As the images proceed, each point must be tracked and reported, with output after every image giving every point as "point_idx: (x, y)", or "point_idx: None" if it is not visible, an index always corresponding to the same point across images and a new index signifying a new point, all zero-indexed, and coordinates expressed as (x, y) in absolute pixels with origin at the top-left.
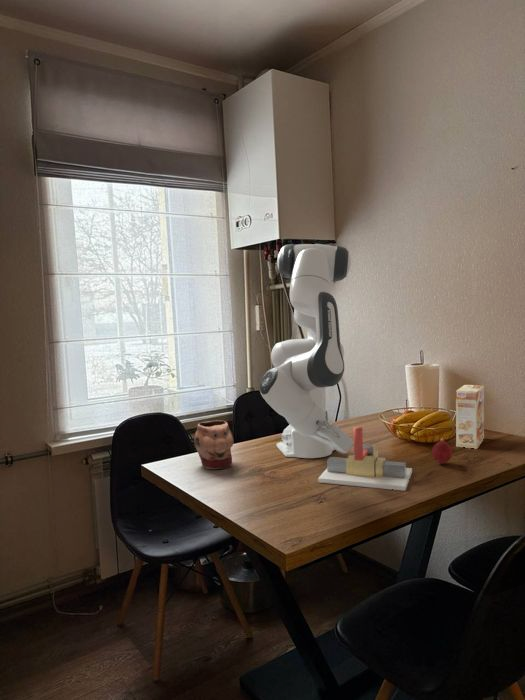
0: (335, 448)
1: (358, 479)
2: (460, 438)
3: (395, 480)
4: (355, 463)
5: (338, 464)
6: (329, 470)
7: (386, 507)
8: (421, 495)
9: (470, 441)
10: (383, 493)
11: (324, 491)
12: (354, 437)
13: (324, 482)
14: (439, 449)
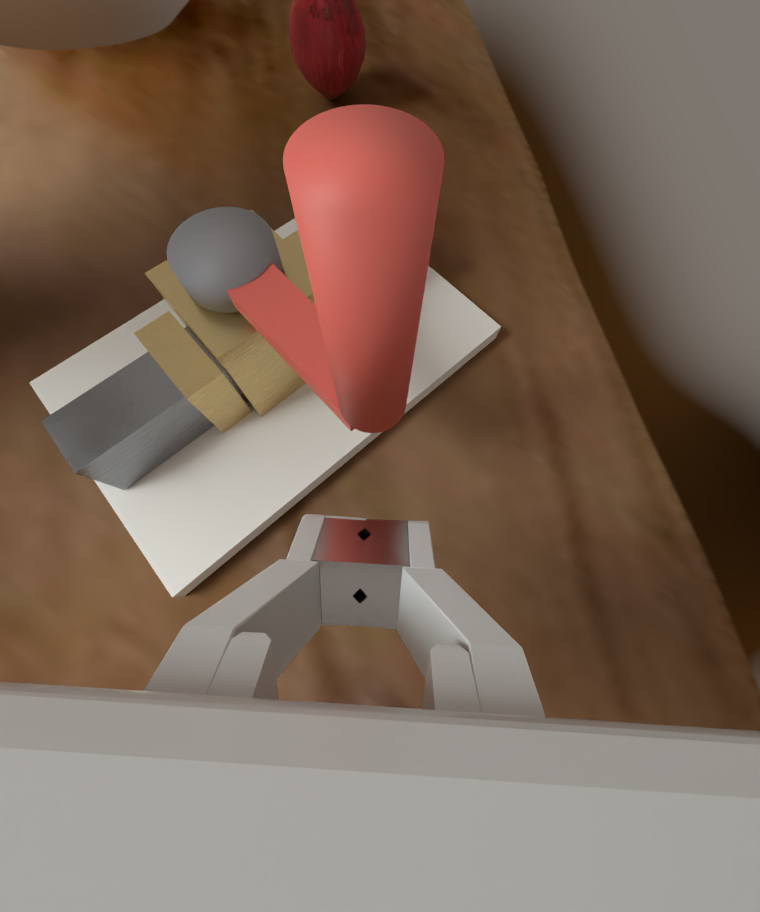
0: (336, 623)
1: (321, 429)
2: None
3: (422, 314)
4: (250, 378)
5: (155, 435)
6: (132, 481)
7: (627, 511)
8: (562, 323)
9: None
10: (480, 422)
11: (314, 646)
12: (371, 331)
13: (213, 571)
14: (339, 28)
